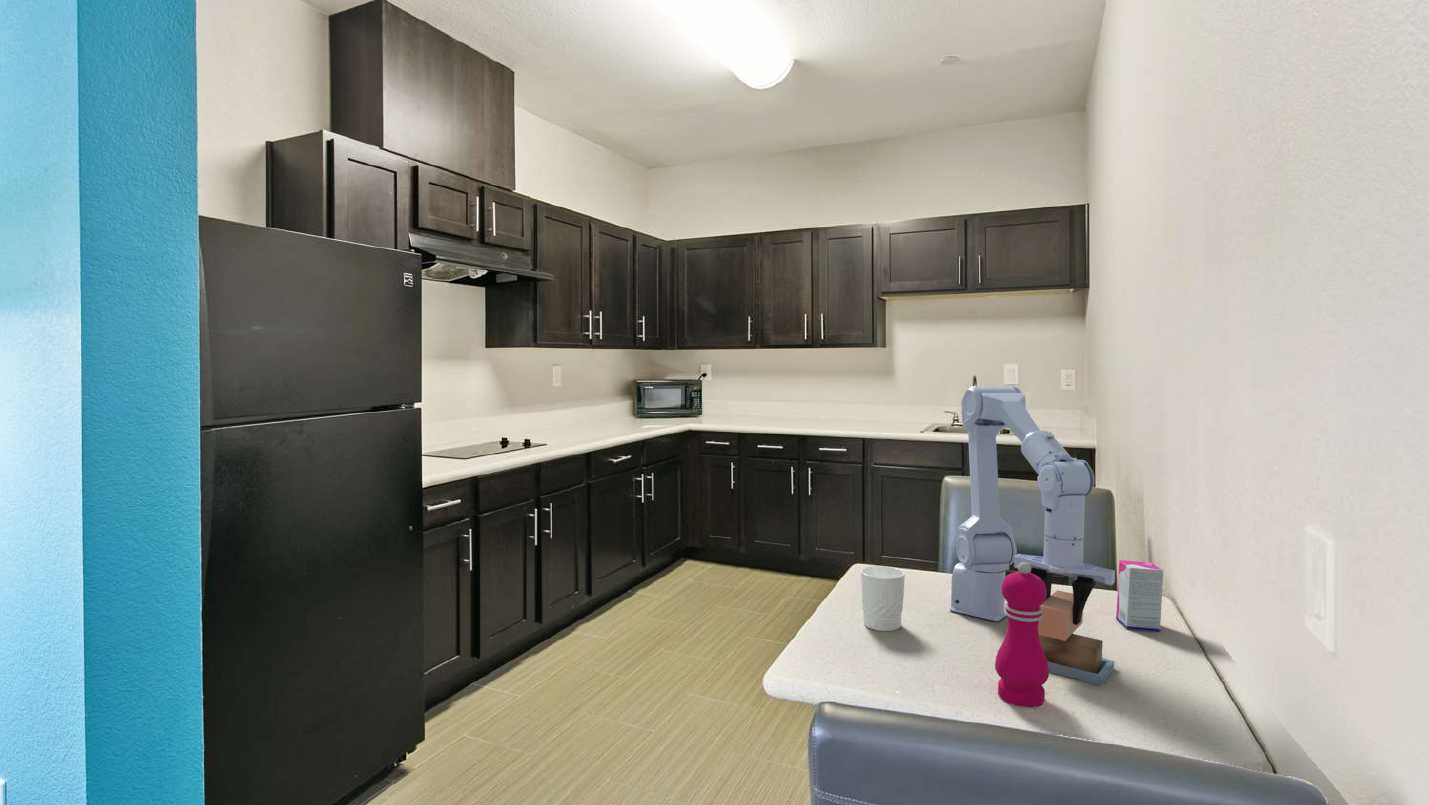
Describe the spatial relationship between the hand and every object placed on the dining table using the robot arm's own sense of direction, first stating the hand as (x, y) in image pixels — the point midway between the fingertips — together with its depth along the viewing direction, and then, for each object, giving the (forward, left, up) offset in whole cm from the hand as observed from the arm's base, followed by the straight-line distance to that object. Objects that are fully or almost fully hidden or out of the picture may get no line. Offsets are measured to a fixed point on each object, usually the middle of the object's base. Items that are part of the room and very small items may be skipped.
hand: (1061, 619), depth 115 cm
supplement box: (+6, +28, -8) cm, 30 cm away
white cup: (-30, -3, -8) cm, 31 cm away
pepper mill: (-1, -16, -8) cm, 18 cm away
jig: (0, 0, -7) cm, 7 cm away
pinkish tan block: (0, 0, -2) cm, 2 cm away
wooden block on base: (0, 0, -8) cm, 8 cm away
